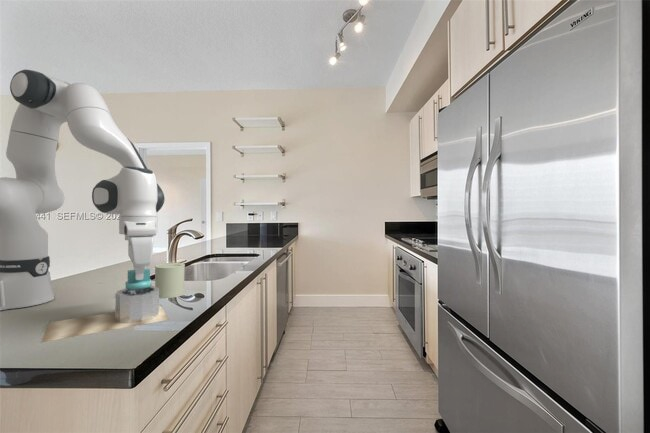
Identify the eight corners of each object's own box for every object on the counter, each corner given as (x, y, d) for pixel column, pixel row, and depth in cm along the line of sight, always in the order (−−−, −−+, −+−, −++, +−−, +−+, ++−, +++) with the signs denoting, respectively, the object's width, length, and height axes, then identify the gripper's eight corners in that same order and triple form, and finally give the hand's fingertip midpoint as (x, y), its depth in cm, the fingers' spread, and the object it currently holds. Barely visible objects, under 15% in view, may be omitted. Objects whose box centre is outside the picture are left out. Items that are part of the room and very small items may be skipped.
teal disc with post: (126, 290, 79) (126, 273, 79) (125, 285, 84) (125, 269, 83) (152, 287, 82) (152, 270, 82) (150, 283, 87) (150, 267, 87)
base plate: (41, 348, 66) (41, 342, 66) (50, 327, 78) (50, 322, 78) (168, 325, 81) (169, 319, 81) (160, 310, 92) (160, 305, 92)
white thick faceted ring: (106, 322, 78) (106, 295, 78) (133, 309, 88) (133, 285, 88) (143, 323, 78) (143, 296, 78) (166, 311, 88) (166, 286, 87)
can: (182, 301, 101) (182, 265, 101) (151, 303, 99) (151, 266, 98) (186, 294, 110) (186, 261, 110) (158, 295, 107) (158, 261, 107)
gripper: (122, 225, 89) (122, 272, 89) (127, 229, 72) (127, 287, 73) (147, 224, 93) (147, 270, 93) (157, 229, 76) (157, 284, 76)
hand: (138, 278), depth 83 cm, fingers closed on teal disc with post, 2 cm apart
